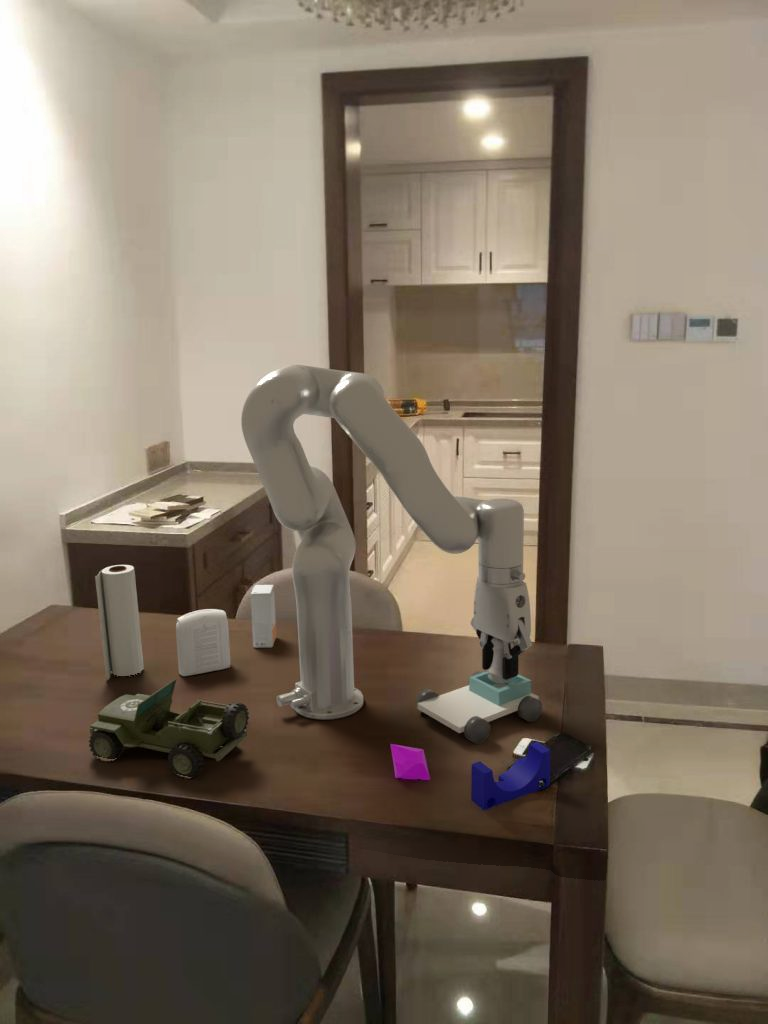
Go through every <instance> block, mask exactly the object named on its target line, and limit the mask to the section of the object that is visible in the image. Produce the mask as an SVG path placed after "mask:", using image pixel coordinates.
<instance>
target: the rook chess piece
mask: <svg viewBox="0 0 768 1024" xmlns="http://www.w3.org/2000/svg"><path fill="white" fill-rule="evenodd" d="M491 641H492V643H493V644H494V647H493V651H494V655H493V661H492V664H491V666H490V667H489V669H487V671H488V672H489V674H488V678H489V679H490V680H491V681H492V682H495V683H507V682H509V681H511V680H512V678H510V679H507V680H505V679H503V677H502V659H503V657H505V651H504V645H503V640H500V639H498V638H496V637H493V639H492V640H491Z"/></svg>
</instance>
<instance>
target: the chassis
mask: <svg viewBox="0 0 768 1024" xmlns="http://www.w3.org/2000/svg"><path fill="white" fill-rule="evenodd" d="M488 674H489V672H488V670H485V671H484V672H482V671H479V670H478V671H475V672H473V673H472V674H471V675H470V677H468V682H467V685H465V686H463V687H460V688H456V689H454V690H451V691H448V692H446V693H445V692H444V693H443V694H438V693H436V692H434V691H433V690H431V689H428V688H427V689H424V690H421V691H420V692H419V694H418V695H417V697H416V700H415V708H416V709H417V710H418V711H420V712H421V713H423V714H425V715H428V716H429V717H430V718H432V719H435V721H437V722H439V723H441V724H443V725H445V727H448V728H450V729H451V730H452V731H455V732H456V733H458V734H461V733H463V734H464V737H465V738H466V739H467V740H469V741H471V742H472V743H474V744H477V745H479V744H482V743H483V742H485V741H486V740H487V738H488V737H489V735H490V731H491V726H490V722H492V721H494V720H497V719H499V718H502V717H504V716H508V715H509V714H512V713H515V712H517V714H518V716H519V718H521V719H523V720H525V721H527V722H529V723H533V722H535V721H537V720H538V719H539V717H540V716H541V714H542V711H543V703H542V701H541V700H540V699H539V698H540V696H539V695H536V694H534V693H532V679H529V678H527V677H524V676H522V675H521V674H519V673H518V675H517V676H515V677H513V678H512V680H511V681H509V682H507V683H495V682H492V681H491V680H490V679H489V678H488Z"/></svg>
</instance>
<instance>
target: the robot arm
mask: <svg viewBox="0 0 768 1024" xmlns="http://www.w3.org/2000/svg"><path fill="white" fill-rule="evenodd" d="M303 415H309V416H316V417H323V418H329V419H331V418H332V419H334V420H335V421H336V422H337V423H338V425H339V427H340V428H342V430H343V431H344V432H345V434H346V435H347V436H348V437H349V438H350V439H351V440H352V442H353V443H354V444H355V445H356V446H357V447H358V448H359V449H360V451H361V452H362V453H363V455H365V456H366V458H367V459H368V460H369V462H370V463H372V465H373V466H374V467H375V468H376V470H377V471H378V473H380V474H381V476H382V477H383V480H384V481H385V483H386V484H387V486H388V487H389V489H390V490H391V492H393V494H394V495H395V496H396V498H397V500H398V501H399V502H400V504H401V505H402V507H403V508H404V509H405V511H406V512H407V514H408V515H409V516H410V517H411V519H412V520H413V521H414V523H415V524H416V525H417V526H418V527H419V529H420V530H421V531H422V532H423V533H424V534H425V536H427V538H428V539H429V540H430V542H432V543H433V544H434V546H436V547H437V548H438V549H439V550H440V551H442V552H444V553H447V554H450V555H451V554H452V555H457V554H459V555H460V554H463V553H465V552H467V551H468V550H470V549H471V547H473V546H474V544H475V543H476V542H477V541H478V550H477V552H478V557H477V558H478V561H477V562H478V563H477V564H478V567H477V568H478V570H477V571H478V573H477V574H478V576H477V578H476V583H475V589H474V597H473V598H474V599H473V617H472V618H471V620H470V625H471V627H472V628H473V630H474V631H475V632H476V633H475V634H476V635H477V637H478V639H479V646H480V648H481V649H482V650H481V651H482V652H481V653H482V654H481V655H482V657H481V658H482V659H481V661H482V662H481V666H482V670H484V671H488V669H489V667H490V666H491V664H492V661H493V655H494V651H493V647H494V644H493V643H492V641H491V640H492V639H493V637H496V638H498V639H500V640H503V645H504V651H505V657H503V659H502V677H503V679H505V680H507V679H510V678H513V677H515V676H517V675H518V674H519V656H520V655H522V653H523V652H524V651H526V650H527V649H530V648H531V647H533V642H532V639H531V634H532V633H531V632H532V619H531V603H530V596H529V590H528V586H527V583H526V582H525V581H524V580H525V578H526V574H525V573H524V537H525V536H524V533H525V532H524V530H525V528H524V527H525V522H524V521H525V512H524V507H523V505H522V503H521V502H519V501H517V500H514V499H508V498H493V499H479V498H473V497H472V498H471V497H465V496H454V495H453V494H452V493H451V491H450V490H449V489H448V488H447V486H446V485H445V484H444V482H443V481H442V479H440V477H439V475H438V473H437V472H436V470H435V469H434V466H433V465H432V462H431V460H430V458H429V455H428V453H427V450H426V448H425V446H424V444H423V443H422V441H421V439H420V438H419V437H418V436H417V435H416V434H415V433H414V432H413V431H412V429H411V428H410V427H409V426H408V424H407V423H406V422H405V421H404V420H403V419H402V417H401V416H400V415H399V413H397V411H396V410H395V409H394V408H393V406H392V405H391V404H390V403H389V402H388V401H387V399H386V398H385V393H384V389H383V386H382V385H381V383H380V382H379V381H378V380H377V378H375V377H373V376H372V375H369V374H368V373H364V372H356V371H348V370H339V369H331V368H325V367H318V366H312V365H311V366H309V365H304V364H303V365H302V364H291V365H286V366H284V367H282V368H278V369H275V370H273V371H271V372H269V373H267V375H265V376H263V377H262V378H261V379H260V380H259V381H258V382H257V383H256V384H255V385H254V387H253V388H252V389H251V390H250V392H249V393H248V395H247V397H246V399H245V401H244V405H243V408H242V412H241V431H242V435H243V438H244V441H245V444H246V447H247V449H248V452H249V454H250V456H251V459H252V461H253V464H254V466H255V468H256V471H257V473H258V477H259V479H260V481H261V484H262V486H263V489H264V491H265V493H266V496H267V498H268V500H269V503H270V505H271V508H272V510H273V514H274V515H275V519H277V521H278V522H279V524H281V526H283V527H284V528H285V529H288V530H290V531H292V532H297V534H298V536H299V538H300V543H299V545H298V546H297V548H296V550H295V552H294V556H293V558H292V565H291V575H292V581H293V589H294V597H295V603H296V604H295V605H296V607H295V608H296V618H297V619H296V621H297V634H298V635H297V639H298V654H299V655H298V657H299V658H298V659H299V678H300V680H299V681H297V682H295V685H294V687H295V688H294V689H292V690H291V691H290V692H287V693H283V694H280V695H276V697H275V700H276V704H277V706H278V707H284V706H287V705H290V708H291V709H293V710H294V711H295V712H296V713H297V714H299V715H300V716H302V717H305V718H309V719H314V720H336V719H341V718H345V717H348V716H350V715H353V714H355V713H357V712H358V711H359V710H360V709H361V708H362V707H363V705H364V694H363V693H362V691H361V690H360V689H358V688H356V687H355V673H354V671H355V669H354V643H353V620H352V619H353V617H352V615H353V614H352V613H353V612H352V599H351V588H350V569H351V566H352V563H353V560H354V557H355V555H356V545H357V544H356V538H355V535H354V532H353V529H352V527H351V525H350V522H349V519H348V517H347V515H346V512H345V510H344V508H343V505H342V503H341V500H340V497H339V495H338V493H337V490H336V488H335V486H334V484H333V482H332V481H331V479H330V477H329V476H328V475H327V474H326V473H325V472H323V471H322V470H321V469H319V468H317V467H314V466H311V465H310V463H309V461H308V459H307V456H306V453H305V449H304V448H303V446H302V443H301V442H300V439H299V438H298V437H297V434H296V432H295V429H294V423H295V421H296V420H297V419H298V418H300V417H301V416H303ZM511 644H512V645H513V647H512V645H511Z"/></svg>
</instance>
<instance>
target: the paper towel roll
mask: <svg viewBox="0 0 768 1024" xmlns="http://www.w3.org/2000/svg"><path fill="white" fill-rule="evenodd" d="M135 573H136V572H135V566H133V565H130V564H116V565H110V566H107V567H105V568H103V569H101V570H100V571H99V572H98V574H97V575H95V577H94V578H95V587H96V598H97V599H96V600H97V605H98V606H97V607H98V614H99V615H98V617H99V625H100V626H99V627H100V636H101V643H102V644H101V645H102V652H103V661H104V671H105V672H104V673H105V680H106V679H107V678H108V677H109V676H110V677H111V675H110V673H111V671H112V673H111V674H114V675H113V676H115V675H117V676H116V677H118V676H129V677H131V676H130V675H134V676H136V675H138V674H137V673H139V674H141V673H142V672H143V671H144V668H145V667H144V657H143V655H144V654H143V648H142V647H143V646H142V635H141V625H140V616H139V615H140V614H139V605H138V604H139V603H138V593H137V585H136V574H135ZM142 670H143V671H142ZM141 671H142V672H141ZM135 674H136V675H135ZM110 677H109V678H110ZM107 680H108V679H107Z"/></svg>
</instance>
